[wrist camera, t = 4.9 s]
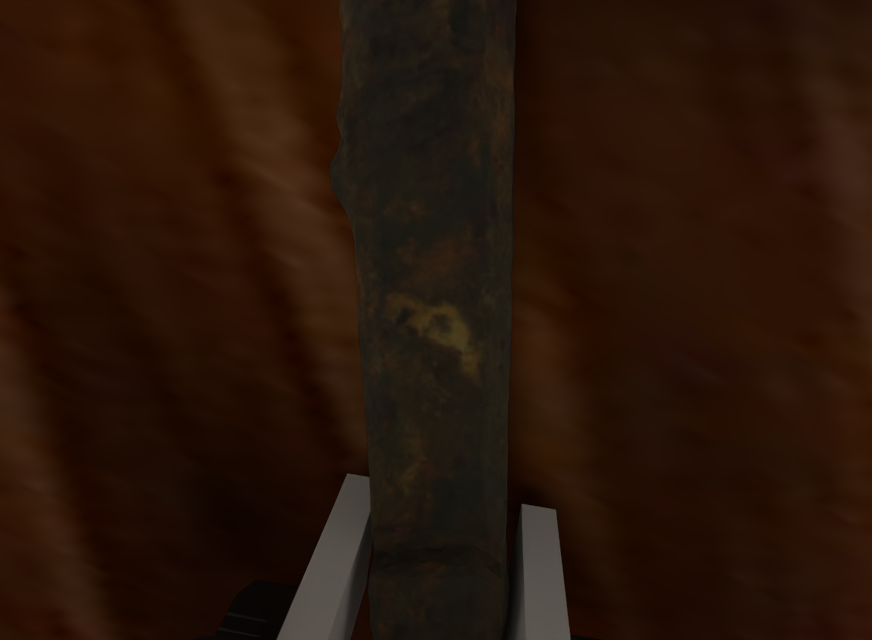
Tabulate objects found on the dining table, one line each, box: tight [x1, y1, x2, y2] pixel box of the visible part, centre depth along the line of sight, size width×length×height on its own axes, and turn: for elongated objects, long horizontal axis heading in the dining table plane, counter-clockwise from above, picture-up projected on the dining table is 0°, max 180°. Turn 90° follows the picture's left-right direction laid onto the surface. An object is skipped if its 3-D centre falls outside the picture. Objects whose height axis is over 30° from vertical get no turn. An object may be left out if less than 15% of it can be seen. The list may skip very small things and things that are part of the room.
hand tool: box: [329, 0, 517, 640], centre depth 16 cm, size 19×4×5 cm, turn 179°
